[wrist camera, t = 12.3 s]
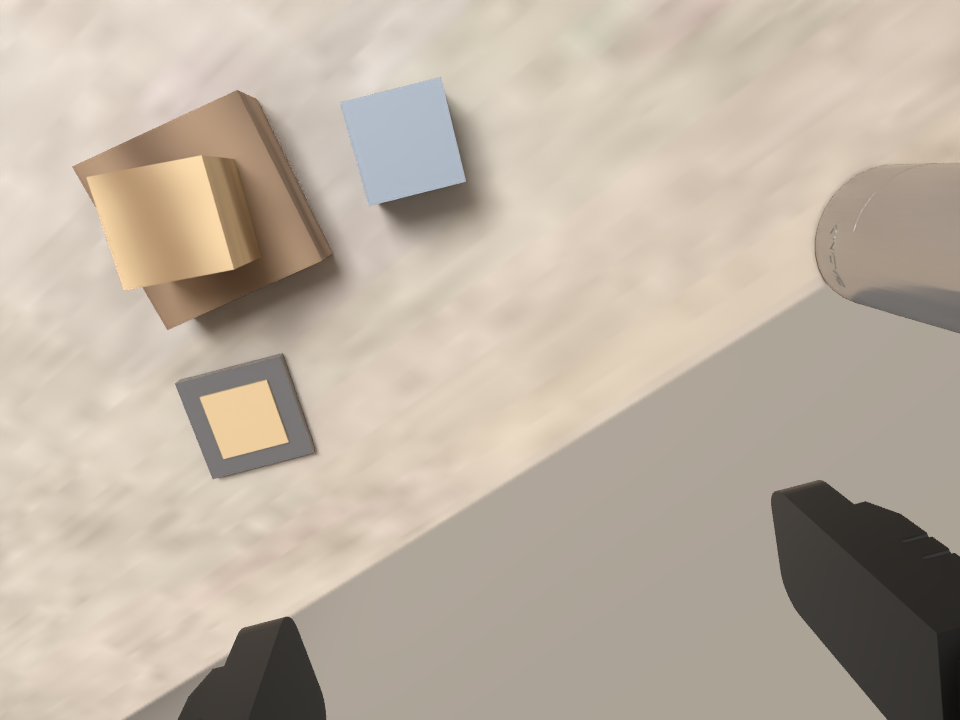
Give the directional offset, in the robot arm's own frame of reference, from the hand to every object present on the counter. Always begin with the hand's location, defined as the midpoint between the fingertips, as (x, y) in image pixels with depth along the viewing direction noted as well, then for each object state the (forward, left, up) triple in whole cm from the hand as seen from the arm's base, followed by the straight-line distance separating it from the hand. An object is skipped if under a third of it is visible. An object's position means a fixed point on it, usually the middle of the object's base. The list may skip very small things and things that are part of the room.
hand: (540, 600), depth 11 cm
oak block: (+13, -8, -30) cm, 34 cm away
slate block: (+1, -9, -34) cm, 35 cm away
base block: (+13, -8, -34) cm, 38 cm away
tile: (+16, +5, -34) cm, 38 cm away
